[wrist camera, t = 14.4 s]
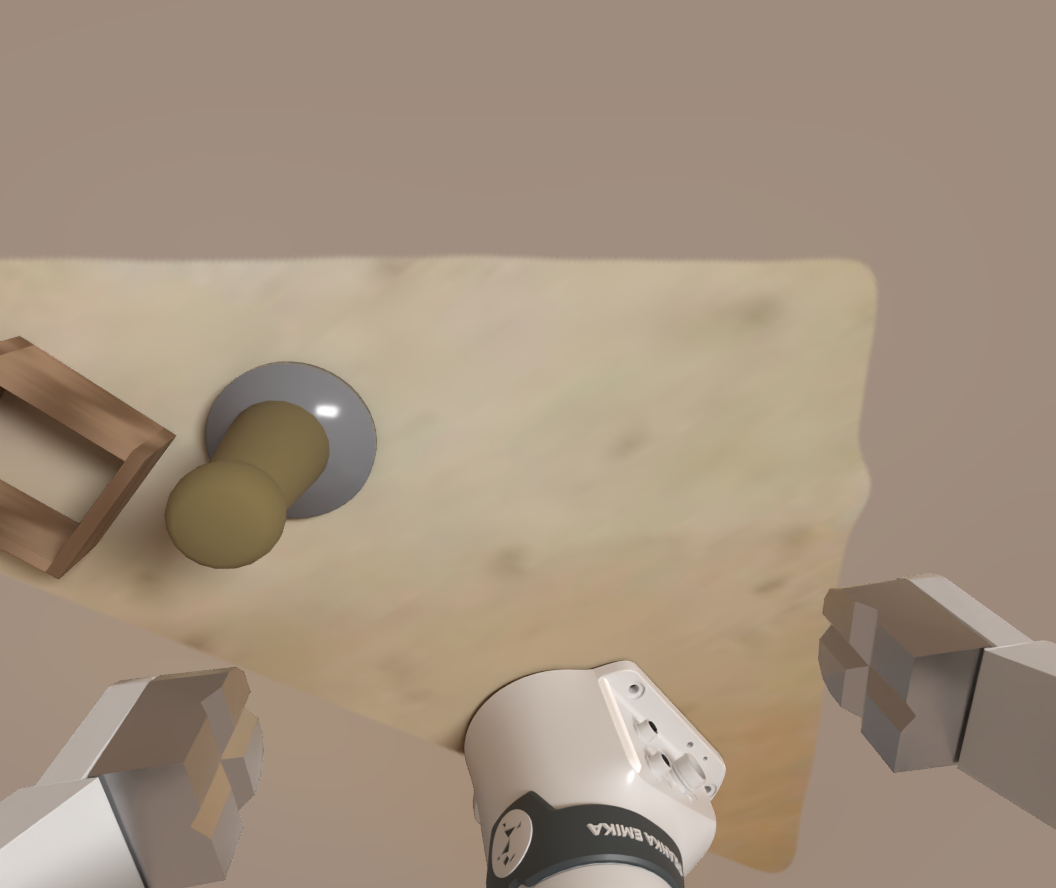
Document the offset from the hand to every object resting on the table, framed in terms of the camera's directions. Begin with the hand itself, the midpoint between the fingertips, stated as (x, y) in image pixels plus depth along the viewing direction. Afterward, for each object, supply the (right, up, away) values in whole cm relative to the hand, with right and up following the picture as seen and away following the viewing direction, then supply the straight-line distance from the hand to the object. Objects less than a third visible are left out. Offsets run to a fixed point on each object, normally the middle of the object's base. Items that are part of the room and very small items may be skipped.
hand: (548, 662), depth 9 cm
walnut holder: (-29, +3, +29) cm, 41 cm away
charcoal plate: (-15, +3, +30) cm, 34 cm away
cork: (-16, +3, +29) cm, 33 cm away
